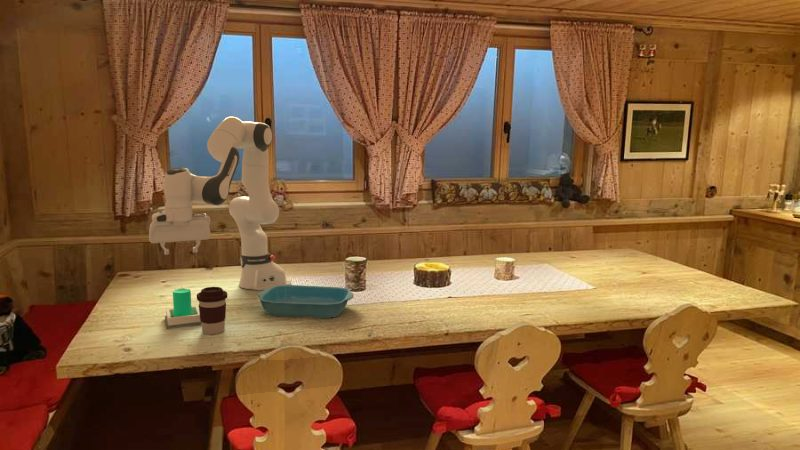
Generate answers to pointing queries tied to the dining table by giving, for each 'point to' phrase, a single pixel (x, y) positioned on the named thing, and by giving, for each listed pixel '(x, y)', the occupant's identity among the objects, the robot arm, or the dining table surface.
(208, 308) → the coffee cup
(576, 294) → the dining table surface
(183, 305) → the candle
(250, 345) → the dining table surface
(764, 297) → the dining table surface
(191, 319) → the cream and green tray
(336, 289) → the casserole dish
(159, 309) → the dining table surface
